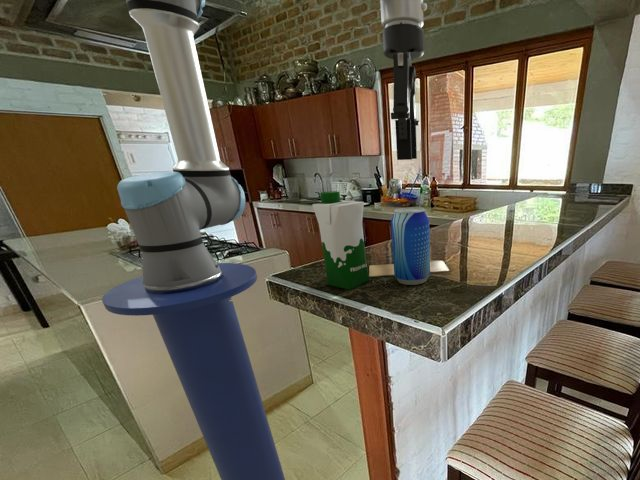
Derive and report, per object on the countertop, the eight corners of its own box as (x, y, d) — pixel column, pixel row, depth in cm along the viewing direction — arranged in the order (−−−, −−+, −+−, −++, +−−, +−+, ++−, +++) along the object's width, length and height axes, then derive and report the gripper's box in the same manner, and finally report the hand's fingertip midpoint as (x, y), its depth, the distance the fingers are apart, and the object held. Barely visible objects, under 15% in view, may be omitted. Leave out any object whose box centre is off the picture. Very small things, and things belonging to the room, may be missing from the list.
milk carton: (347, 274, 84) (336, 190, 75) (375, 280, 79) (367, 191, 71) (321, 285, 77) (305, 194, 69) (350, 292, 73) (338, 195, 64)
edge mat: (369, 277, 81) (369, 276, 81) (369, 266, 89) (369, 265, 89) (449, 271, 84) (449, 270, 84) (442, 261, 92) (442, 260, 92)
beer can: (408, 272, 84) (406, 206, 77) (437, 277, 80) (436, 208, 73) (387, 282, 78) (382, 211, 71) (416, 288, 74) (413, 213, 67)
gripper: (419, -2, 48) (422, 159, 58) (426, 47, 71) (428, 158, 80) (368, 1, 49) (379, 160, 58) (391, 49, 71) (397, 159, 80)
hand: (407, 159), depth 69 cm, fingers open, 13 cm apart
